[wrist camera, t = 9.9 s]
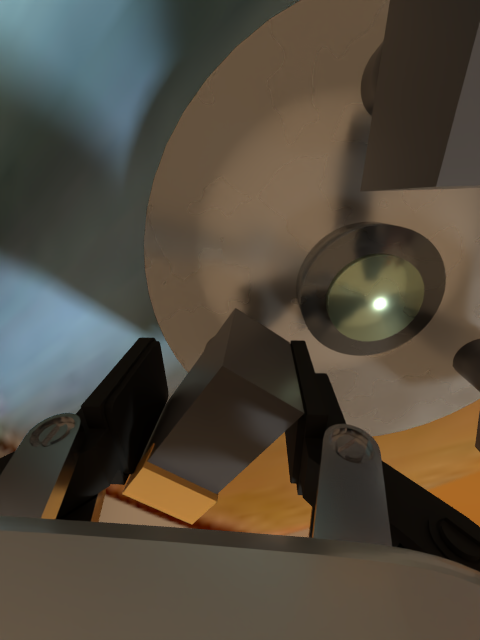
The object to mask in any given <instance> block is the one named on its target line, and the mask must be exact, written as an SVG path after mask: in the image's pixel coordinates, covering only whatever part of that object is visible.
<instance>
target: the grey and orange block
mask: <svg viewBox="0 0 480 640" xmlns="http://www.w3.org/2000/svg"><path fill="white" fill-rule="evenodd" d="M453 367H454V369H455V370H456V371H457V372H458V373H459V374H460V375H461V376H462V377H463V378H464V379H466V380H467V381H468V382H469V383H470V384H471V385H472V386H474V387H475V388H476V389H477V390H478V391H479V392H480V339H476V340H473V341H471V342H469V343H467V344H465V345H464V346H462V347H461V348H460V349H459V350H458V351H457V353H456V354H455V356H454V359H453ZM475 447H476V448H477V449H478V450H479V452H480V413H479V421H478V428H477V436H476V444H475Z"/></svg>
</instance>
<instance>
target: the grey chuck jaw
mask: <svg viewBox="0 0 480 640" xmlns="http://www.w3.org/2000/svg"><path fill="white" fill-rule="evenodd" d="M303 414H304V409H303V404H302V399H301V395H300V390H299V385H298V380H297V375H296V371H295V366H294V361H293V356H292V351H291V347H290V342H288V341H287V340H285V339H284V338H282V337H281V336H279V335H277V334H276V333H274V332H273V331H271V330H270V329H268V328H267V327H265V326H263V325H262V324H260V323H259V322H257V321H256V320H254V319H252V318H251V317H249V316H248V315H246V314H245V313H243V312H241V311H240V310H238V309H237V308H235V309H234V310H233V312H232V313H231V314H230V316H229V317H228V318H227V320H226V321H225V323H224V324H223V325H222V327H221V328H220V330H219V331H218V332H217V334H216V335H215V336H214V337H213V338H211V339H210V340H209V341H208V342H207V344H206V346H205V349H204V352H203V353H202V355H201V356H200V357H199V359H198V360H197V362H196V363H195V364H194V366H193V367H192V369H191V370H190V371H189V373H188V374H187V376H186V377H185V378H184V380H183V381H182V382H181V384H180V385H179V387H178V388H177V389H176V391H175V392H174V394H173V395H172V396H171V398H170V399H169V401H168V402H167V403H166V405H165V407H164V409H163V411H162V413H161V415H160V418H159V420H158V422H157V424H156V426H155V429H154V431H153V433H152V435H151V437H150V439H149V442H148V444H147V446H146V448H145V450H144V453H143V455H142V457H141V459H140V461H139V463H138V465H137V467H136V469H135V471H134V473H133V474H131V476H130V478H129V480H128V482H127V484H126V487H125V489H124V491H123V493H122V494H124V495H126V496H128V497H130V498H133V499H135V500H137V501H140V502H142V503H144V504H146V505H149V506H151V507H153V508H156V509H158V510H160V511H162V512H165V513H167V514H169V515H172V516H174V517H176V518H178V519H181V520H183V521H185V522H188V523H190V524H193V523H194V522H195V521H196V520H197V519H198V518H200V517H201V516H202V515H203V514H204V513H205V512H206V511H207V510H208V509H210V508H211V507H212V506H213V505H214V504H215V503H216V502H217V499H218V493H219V492H220V491H221V490H222V489H223V488H224V487H225V486H226V485H227V484H228V483H229V482H231V481H232V480H233V479H234V478H235V477H236V476H237V475H238V474H239V473H240V472H241V471H242V470H244V469H245V468H246V467H247V466H248V465H249V464H250V463H251V462H252V461H253V460H254V459H255V458H257V457H258V456H259V455H260V454H261V453H262V452H263V451H264V450H265V449H266V448H267V447H269V446H270V445H271V444H272V443H273V442H274V441H275V440H276V439H277V438H278V437H279V436H280V435H282V434H283V433H284V432H285V431H286V430H287V429H288V428H289V427H290V426H291V425H292V424H293V423H295V422H296V421H297V420H298V419H299V418H300V417H301V416H302V415H303Z"/></svg>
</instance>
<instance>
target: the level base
mask: <svg viewBox="0 0 480 640" xmlns="http://www.w3.org/2000/svg"><path fill="white" fill-rule="evenodd" d="M389 3H390V0H300V1H299V2H297V3H295V4H294V5H292V6H290V7H289V8H287V9H285V10H284V11H282V12H281V13H279V14H277V15H276V16H274V17H272V18H271V19H269V20H268V21H267V22H266V23H264V24H263V25H262V26H261V27H260V28H258V29H257V30H256V31H255V32H254V33H252V34H251V35H250V36H249V37H248V38H246V39H245V40H244V41H243V42H241V43H240V44H239V45H238V46H237V47H236V48H235V49H234V50H233V51H232V52H231V53H230V54H229V55H228V56H227V57H226V58H225V59H224V61H223V62H222V63H221V64H220V65H219V66H218V67H217V68H216V69H215V70H214V71H213V73H212V74H211V75H210V76H209V77H208V78H207V79H206V81H205V82H204V83H203V85H202V86H201V88H200V89H199V91H198V92H197V93H196V95H195V96H194V98H193V99H192V101H191V102H190V103H189V105H188V106H187V108H186V109H185V111H184V112H183V114H182V116H181V118H180V120H179V122H178V124H177V126H176V127H175V129H174V131H173V133H172V135H171V137H170V139H169V141H168V143H167V145H166V147H165V150H164V153H163V155H162V158H161V161H160V163H159V166H158V169H157V172H156V174H155V177H154V181H153V185H152V190H151V194H150V198H149V203H148V207H147V213H146V224H145V234H144V260H145V273H146V279H147V285H148V292H149V296H150V299H151V303H152V306H153V310H154V313H155V316H156V319H157V321H158V324H159V326H160V328H161V331H162V333H163V335H164V337H165V340H166V341H167V343H168V345H169V346H170V348H171V350H172V351H173V353H174V355H175V356H176V358H177V359H178V361H179V362H180V363H181V364H182V366H183V367H184V368H185V370H186V371H187V372H188V373H189V371H190V370H191V369H192V367H193V366H194V364H195V363H196V362H197V360H198V359H199V357H200V356H201V355H202V353H203V352H204V349H205V346H206V344H207V342H208V341H209V340H210V339H211V338H213V337H214V336H215V335H216V334H217V332H218V331H219V330H220V328H221V327H222V325H223V324H224V323H225V321H226V320H227V318H228V317H229V316H230V314H231V313H232V312H233V310H234V309H235V308H237V309H238V310H240V311H241V312H243V313H245V314H246V315H248V316H249V317H251V318H252V319H254V320H256V321H257V322H259V323H260V324H262V325H263V326H265V327H267V328H268V329H270V330H271V331H273V332H274V333H276V334H277V335H279V336H281V337H282V338H284V339H285V340H287V341H288V342H291V340H303V341H305V342H306V345H307V348H308V351H309V355H310V358H311V361H312V364H313V367H314V371H315V373H326V374H327V375H328V377H329V380H330V382H331V385H332V387H333V390H334V393H335V395H336V398H337V401H338V403H339V406H340V408H341V411H342V414H343V416H344V419H345V422H346V424H349V425H353V426H356V427H358V428H360V429H362V430H364V431H365V432H367V433H368V434H369V435H370V436H379V435H384V434H389V433H394V432H399V431H403V430H407V429H410V428H413V427H417V426H420V425H423V424H426V423H429V422H431V421H434V420H436V419H439V418H441V417H444V416H446V415H449V414H451V413H453V412H455V411H457V410H459V409H461V408H463V407H465V406H467V405H469V404H471V403H473V402H475V401H476V400H478V399H480V392H479V391H478V390H477V389H476V388H475V387H474V386H472V385H471V384H470V383H469V382H468V381H467V380H466V379H464V378H463V377H462V376H461V375H460V374H459V373H458V372H457V371H456V370H455V369H454V367H453V359H454V356H455V354H456V353H457V351H458V350H459V349H460V348H461V347H462V346H464V345H465V344H467V343H469V342H471V341H473V340H476V339H480V188H462V189H434V190H397V191H360V190H361V183H362V177H363V170H364V164H365V157H366V151H367V144H368V138H369V132H370V125H371V119H372V116H371V115H370V114H369V113H368V112H367V111H366V109H365V107H364V105H363V102H362V99H361V80H362V75H363V72H364V69H365V67H366V65H367V63H368V61H369V59H370V57H371V56H372V54H373V53H374V52H375V51H376V49H377V48H378V47H379V46H380V44H381V43H382V42H383V40H384V35H385V29H386V22H387V16H388V9H389Z"/></svg>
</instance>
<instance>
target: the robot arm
mask: <svg viewBox="0 0 480 640" xmlns="http://www.w3.org/2000/svg"><path fill="white" fill-rule="evenodd" d="M290 347H291V351H292V356H293V361H294V366H295V371H296V375H297V380H298V385H299V390H300V395H301V399H302V404H303V409H304V414H303V415H302V416H301V417H300V418H299V419H298V420H297V421H296V422H295V423H293V424H292V425H291V426H290V427H289V428H288V429H287V430H286V431H285V436H286V445H287V455H288V464H289V474H290V482H291V483H296V484H297V492H298V495H303V498H304V499H305V500H306V501H307V502H308V503H309V504H310V505H311V506H312V511H311V520H310V528H309V537H308V538H307V537H295V536H282V535H268V534H255V533H242V532H229V531H216V530H203V529H189V528H175V527H161V526H146V525H131V524H117V523H103V522H99V517H100V513H101V509H102V505H103V500H104V497H105V490H106V488H107V487H109V486H110V484H122V485H125V483H126V480H127V478H128V476H129V474H133V473H134V471H135V469H136V467H137V465H138V463H139V461H140V459H141V457H142V455H143V453H144V450H145V448H146V446H147V444H148V442H149V439H150V437H151V435H152V433H153V431H154V429H155V426H156V424H157V422H158V420H159V418H160V415H161V413H162V411H163V409H164V407H165V404H166V402H167V400H168V387H167V381H166V375H165V369H164V364H163V358H162V352H161V346H160V343H159V341H156V340H155V338H139V339H138V340H137V341H136V342H135V344H134V345H133V346H132V347H131V348H130V349H129V351H128V352H127V353H126V354H125V355H124V356H123V358H122V359H121V360H120V361H119V362H118V363H117V365H116V366H115V367H114V368H113V369H112V370H111V372H110V373H109V374H108V375H107V376H106V377H105V379H104V380H103V381H102V382H101V383H100V384H99V386H98V387H97V388H96V389H95V390H94V391H93V392H92V394H91V395H90V396H89V397H88V398H87V399H86V401H85V402H84V403H83V404H82V405H81V409H80V410H79V411H78V412H77V413H76V414H73V413H61V414H57V415H54V416H51V417H49V418H47V419H45V420H43V421H41V422H40V423H38V424H37V425H35V426H34V427H33V428H32V429H31V430H30V431H29V432H28V433H27V434H26V436H25V437H24V439H23V440H22V442H21V443H20V445H19V447H18V448H17V450H16V451H15V452H13V453H10V454H8V455H6V456H4V457H2V458H0V640H480V527H479V526H478V525H476V524H475V523H474V522H472V521H471V520H470V519H469V518H467V517H466V516H464V515H463V514H462V513H460V512H459V511H457V510H455V509H454V508H453V507H451V506H449V505H448V504H446V503H445V502H443V501H442V500H440V499H439V498H437V497H436V496H434V495H433V494H431V493H430V492H428V491H427V490H425V489H424V488H422V487H421V486H419V485H418V484H416V483H415V482H413V481H412V480H410V479H409V478H407V477H406V476H404V475H403V474H401V473H400V472H398V471H397V470H395V469H394V468H392V467H391V466H389V465H388V464H386V463H385V462H383V461H382V460H381V453H380V450H379V447H378V444H377V443H376V441H375V440H374V439H373V438H372V437H371V436H370V435H369V434H368V433H367V432H365V431H364V430H362V429H360V428H358V427H356V426H353V425H349V424H346V422H345V419H344V416H343V414H342V411H341V408H340V406H339V403H338V401H337V398H336V395H335V393H334V390H333V387H332V385H331V382H330V380H329V377H328V375H327V374H326V373H315V371H314V367H313V364H312V361H311V358H310V355H309V351H308V348H307V345H306V342H305V341H303V340H291V342H290Z"/></svg>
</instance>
